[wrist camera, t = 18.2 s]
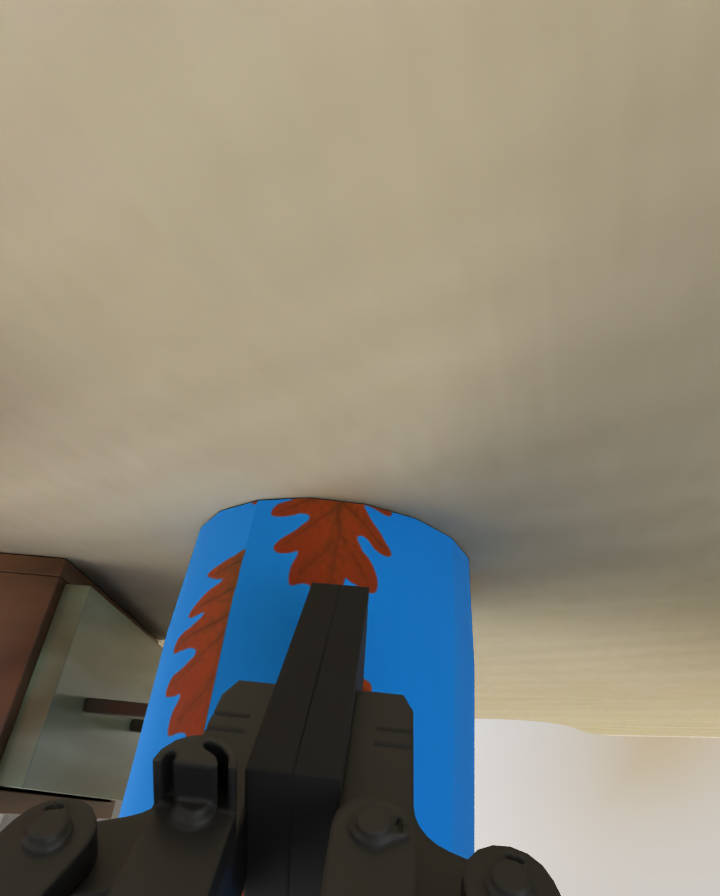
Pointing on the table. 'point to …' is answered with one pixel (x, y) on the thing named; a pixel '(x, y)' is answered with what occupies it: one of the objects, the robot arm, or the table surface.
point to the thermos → (275, 619)
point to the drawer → (83, 702)
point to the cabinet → (32, 653)
